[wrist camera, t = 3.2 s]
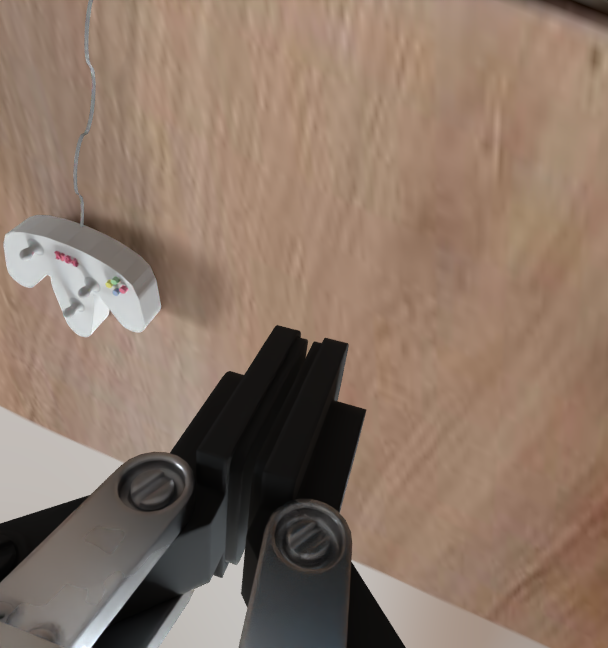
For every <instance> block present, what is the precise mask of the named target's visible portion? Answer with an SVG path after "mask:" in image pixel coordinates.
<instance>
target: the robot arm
mask: <svg viewBox="0 0 608 648" xmlns="http://www.w3.org/2000/svg"><path fill="white" fill-rule="evenodd" d="M300 337H301V332H300V331H298V330H294V329H290V328H286V327H282V326H278V325H277V326H275V328H274V329H273V331H272V332H271V334H270V335H269V337H268V339H267V340H266V342H265V343H264V345H263V346H262V348H261V350H260V351H259V353H258V354H257V356H256V357H255V359H254V361H253V362H252V364H251V365H250V367H249V368H248V370H247V372H246V373H245V375H242V374H238V373H235V372H231V371H229V372H227V373H226V374H225V375H224V376H223V377H222V379H221V380H220V381H219V383H218V384H217V386H216V387H215V389H214V390H213V392H212V393H211V394H210V396H209V397H208V399H207V400H206V402H205V403H204V405H203V406H202V407H201V409H200V410H199V412H198V413H197V415H196V416H195V418H194V419H193V420H192V422H191V423H190V425H189V426H188V428H187V429H186V430H185V432H184V433H183V435H182V436H181V438H180V439H179V441H178V442H177V443H176V445H175V446H174V448H173V449H172V451H171V452H170V453H167V452H151V453H145V454H141V455H138V456H136V457H134V458H131V459H129V460H128V461H127V462H125V463H124V464H123V465H121V466H120V467H119V468H118V469H117V470H116V471H115V472H114V473H113V474H112V475H110V476H109V477H108V478H107V480H105V481H104V483H102V484H101V485H100V486H99V487H98V488H97V489H96V490H95V491H94V492H93V493H92V494H91V495H89V496H86V497H82V498H79V499H76V500H73V501H70V502H67V503H63V504H60V505H57V506H54V507H51V508H48V509H45V510H41V511H39V512H35V513H32V514H29V515H26V516H23V517H20V518H16V519H13V520H10V521H7V522H4V523H1V524H0V648H158V647H159V646H160V644H161V643H162V641H163V640H164V638H165V637H166V635H167V634H168V632H169V631H170V629H171V628H172V626H173V625H174V623H175V622H176V620H177V619H178V617H179V616H180V614H181V613H182V611H183V610H184V608H185V607H186V605H187V604H188V602H189V600H190V598H191V596H192V594H193V592H194V589H195V588H197V587H199V586H202V585H204V584H206V583H209V582H210V580H211V578H212V576H213V575H215V576H218V577H221V578H222V577H223V575H224V572H225V570H226V568H227V566H228V563H232V564H235V565H237V564H238V563H239V561H240V558H241V557H242V554H243V552H244V550H245V557H244V568H243V579H242V580H243V581H242V592H241V594H242V596H243V599H244V601H245V603H246V606H247V612H246V617H245V621H244V626H243V631H242V635H241V639H240V644H239V648H406V647H405V646H404V644H403V643H402V641H401V639H400V638H399V636H398V635H397V633H396V632H395V630H394V628H393V627H392V625H391V624H390V622H389V621H388V619H387V617H386V616H385V614H384V613H383V611H382V610H381V608H380V606H379V605H378V603H377V601H376V600H375V598H374V597H373V595H372V594H371V592H370V590H369V589H368V587H367V586H366V584H365V582H364V581H363V579H362V578H361V576H360V575H359V573H358V571H357V570H356V568H355V567H354V565H353V564H352V562H351V556H352V538H351V531H350V529H349V527H348V525H347V522H346V520H345V519H344V518H343V517H342V516H341V515H340V510H341V506H342V502H343V498H344V495H345V491H346V487H347V483H348V480H349V476H350V472H351V468H352V464H353V461H354V457H355V453H356V449H357V445H358V441H359V437H360V433H361V429H362V425H363V421H364V417H365V413H366V409H362V408H359V407H355V406H352V405H348V404H345V403H341V402H338V401H337V400H338V395H339V391H340V386H341V381H342V376H343V371H344V366H345V361H346V356H347V351H348V343H344V342H340V341H336V340H332V339H328V338H324V340H323V342H322V343H318V342H313V344H312V346H311V348H310V350H309V352H308V354H307V357H306V351H307V344H308V340H307V339H303V338H300ZM305 358H306V359H305Z"/></svg>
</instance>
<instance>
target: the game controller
mask: <svg viewBox="0 0 608 648" xmlns="http://www.w3.org/2000/svg"><path fill="white" fill-rule="evenodd" d="M92 2H93V0H89V2H88V7H87V14H86V23H85V57H86V62H87V64H88V65H89V67H90V69H91V75H92V99H91V109H90V115H89V121H88V125H87V128H86V130H85V132H84V133H83V134H81V135H80V137H79V140H78V143H77V147H76V153H75V160H74V189H75V192H76V194H78V195H79V193H78V189H77V164H78V156H79V150H80V146H81V142H82V139H83V137H84V136H85V135H87V134H88V132H89V130H90V127H91V123H92V119H93V113H94V105H95V72H94V69H93V67H92V66H91V65H90V61H89V53H88V35H89V22H90V13H91V7H92ZM79 197H80V202H81V220H80V224H79V223H76V222H74V221H71V220H68V219H64V218H59V217H55V216H50V215H34V216H32V217H29V218H28V219H26V220H25V221H23V222H22V223H21V224H19V225H18V226H17V227H15V228H14V229H12V230H11V231H10V232H8V233H7V234H5V239H4V252H5V258H6V265H7V270H8V272H9V274H10V275H11V277H12V278H13V279H14V280H15V281H16V282H18V283H19V284H21V285H23V286H25V287H29V288H31V287H34V286H35V285H36V284H37V283H38V282H39V281H41V280H42V279H43V278H44V277H45V276H46V275H49V276H51V283H52V287H53V290H54V292H55V295H56V297H57V300H58V302H59V304H60V307H61V309H62V312H63V316H64V317H65V319H66V321H67V323H68V325H69V326H70V328H71V329H72V330H73V331H74V332H75V333H76V334H78V335H80V336H82V337H88V336H90V335H91V334H92V333H93V332H94V331H95V329H96V328H97V327H98V326H99V325H100V324H101V323H102V322H103V321H104V320H105V319H106V317H107V316H108V315H109V310H110V311H111V312H112V313H113V314H114V316H115V317H116V318H117V320H118V321H119V322H120V323H121V324H122V325H123V326H124V327H125V328H127V329H128V330H130V331H133V332H142V331H143V330H144V329H145V328H146V326H147V325H148V324H149V323H150V322H151V320H152V319H153V318H154V317H155V315H156V314H157V313H158V312H159V310H160V309H161V303H160V297H159V292H158V286H157V281H156V278H155V276H154V274H153V271H152V269H151V266H150V265H149V264H148V263H147V262H146V261H145V260H144V259H143V258H142V257H141V256H140V255H139V254H137V253H136V252H134V251H133V250H131V249H130V248H129V247H127V246H126V245H124V244H122V243H120V242H119V241H117V240H115V239H113V238H112V237H110V236H108V235H106V234H104V233H101V232H99V231H97V230H95V229H92V228H90V227H88V226H85V225H83V221H84V203H83V198H82V196H81V195H79Z"/></svg>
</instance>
